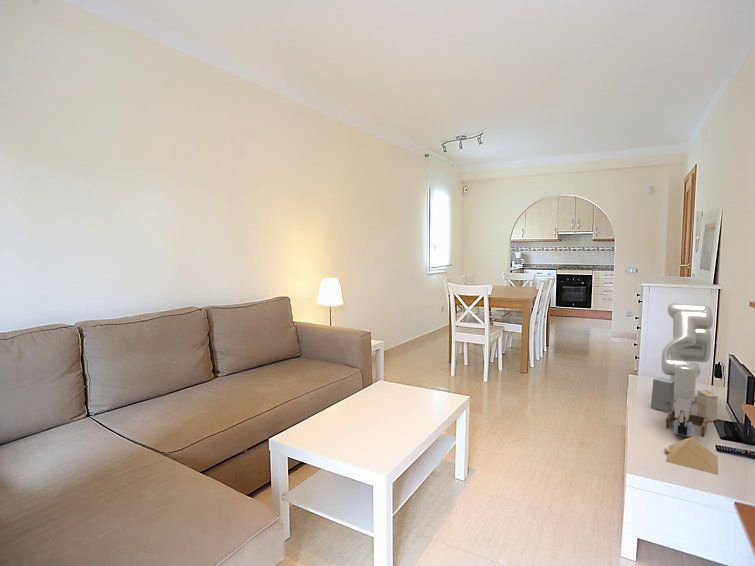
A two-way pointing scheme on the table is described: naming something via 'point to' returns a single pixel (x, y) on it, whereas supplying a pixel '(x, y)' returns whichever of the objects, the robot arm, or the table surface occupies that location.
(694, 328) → the robot arm
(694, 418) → the walnut open-sided box
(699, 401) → the supplement box
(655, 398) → the skincare box
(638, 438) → the table surface
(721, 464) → the table surface
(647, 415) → the table surface
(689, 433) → the grey block
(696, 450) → the model pyramid
